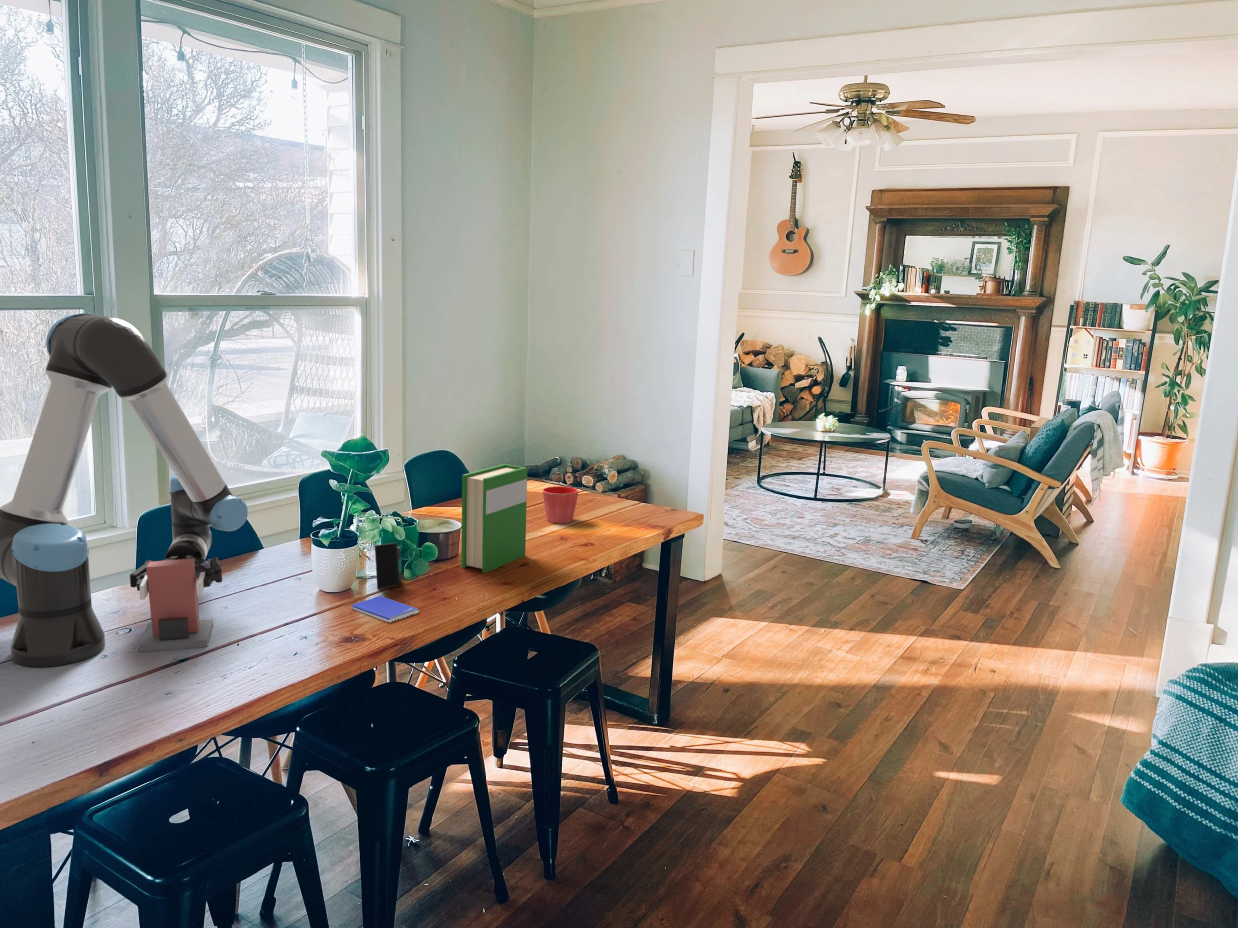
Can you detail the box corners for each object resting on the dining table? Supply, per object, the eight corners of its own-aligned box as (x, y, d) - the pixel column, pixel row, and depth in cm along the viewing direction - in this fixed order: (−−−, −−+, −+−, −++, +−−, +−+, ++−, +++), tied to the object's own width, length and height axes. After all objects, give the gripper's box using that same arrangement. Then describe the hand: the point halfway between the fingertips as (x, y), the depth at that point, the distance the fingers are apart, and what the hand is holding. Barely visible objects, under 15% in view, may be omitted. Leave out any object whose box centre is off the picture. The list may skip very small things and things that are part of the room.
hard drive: (418, 607, 201) (381, 595, 208) (389, 617, 194) (351, 604, 202) (418, 614, 201) (381, 601, 208) (389, 624, 195) (351, 611, 202)
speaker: (402, 587, 216) (400, 544, 214) (377, 589, 214) (374, 545, 213) (402, 580, 223) (400, 538, 222) (378, 582, 222) (375, 539, 220)
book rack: (138, 651, 175) (136, 624, 174) (148, 630, 185) (146, 604, 184) (207, 646, 179) (206, 619, 177) (213, 625, 189) (212, 600, 188)
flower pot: (541, 515, 286) (541, 485, 284) (576, 516, 287) (577, 486, 286) (542, 525, 276) (542, 493, 274) (578, 525, 277) (579, 493, 275)
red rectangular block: (152, 636, 179) (146, 567, 176) (155, 629, 182) (149, 561, 179) (197, 631, 181) (192, 563, 178) (199, 625, 184) (194, 558, 181)
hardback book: (485, 572, 230) (486, 479, 225) (461, 567, 233) (462, 474, 228) (525, 555, 245) (527, 467, 240) (502, 551, 248) (504, 463, 243)
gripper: (242, 570, 200) (234, 605, 179) (129, 576, 194) (107, 613, 173) (240, 536, 199) (232, 568, 178) (127, 541, 192) (105, 575, 171)
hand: (171, 590), depth 175 cm, fingers open, 9 cm apart
